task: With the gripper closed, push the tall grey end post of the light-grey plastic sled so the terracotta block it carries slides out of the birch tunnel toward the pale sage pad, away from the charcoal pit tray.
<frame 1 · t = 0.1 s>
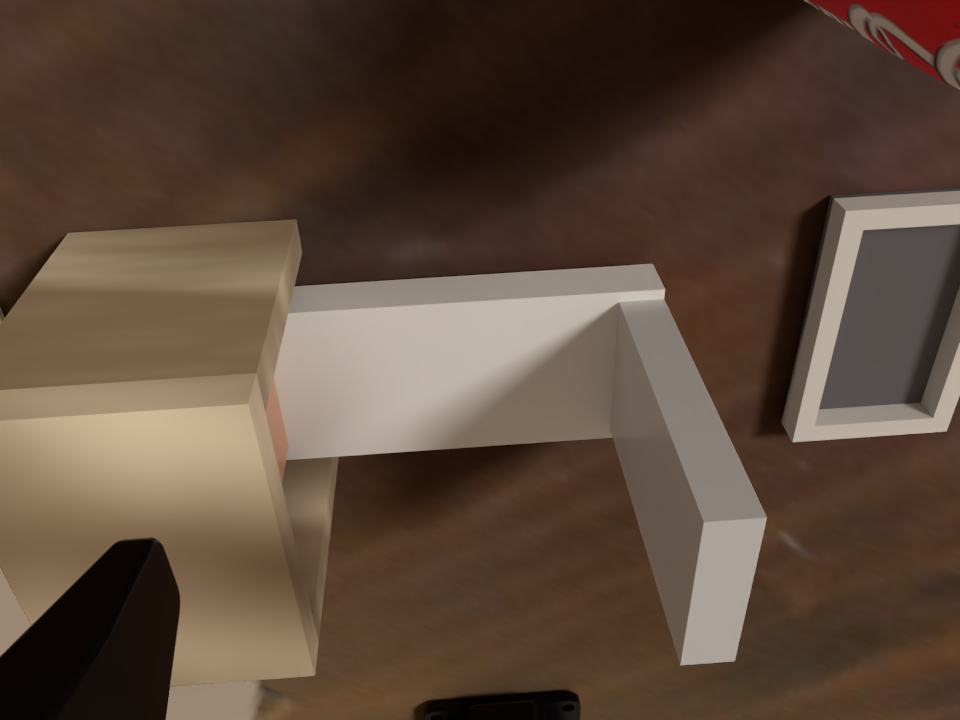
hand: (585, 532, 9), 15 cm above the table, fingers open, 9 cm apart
tunnel: (216, 357, 25), on the table
sled: (373, 465, 21), point 5 cm above the table, slide at 0.0 cm
pit tray: (885, 313, 26), on the table
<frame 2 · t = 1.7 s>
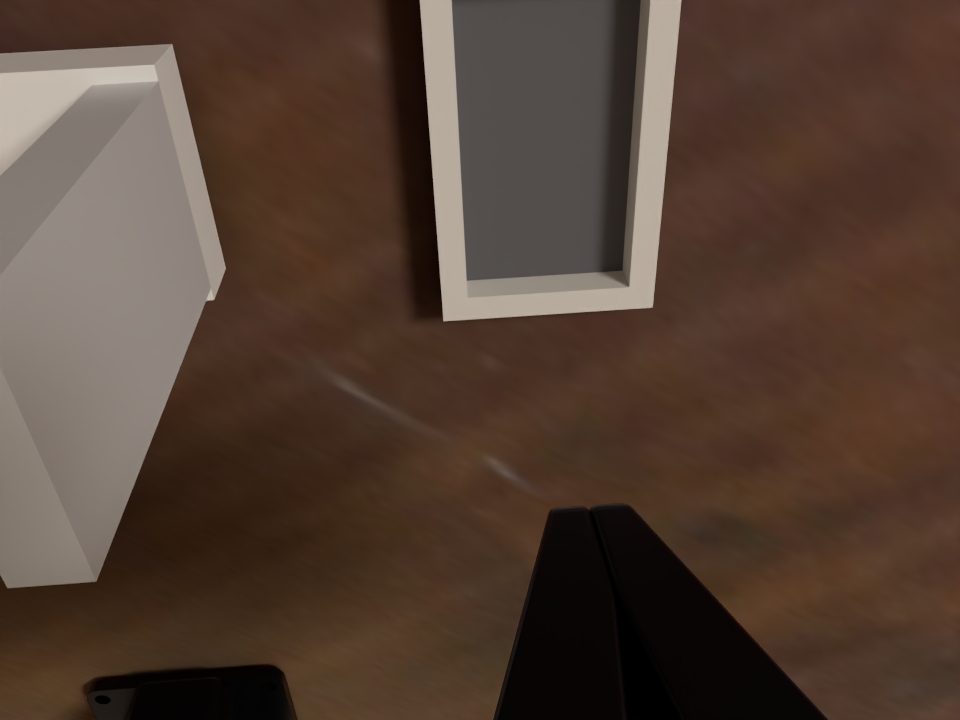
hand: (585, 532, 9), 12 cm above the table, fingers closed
pit tray: (544, 136, 19), on the table
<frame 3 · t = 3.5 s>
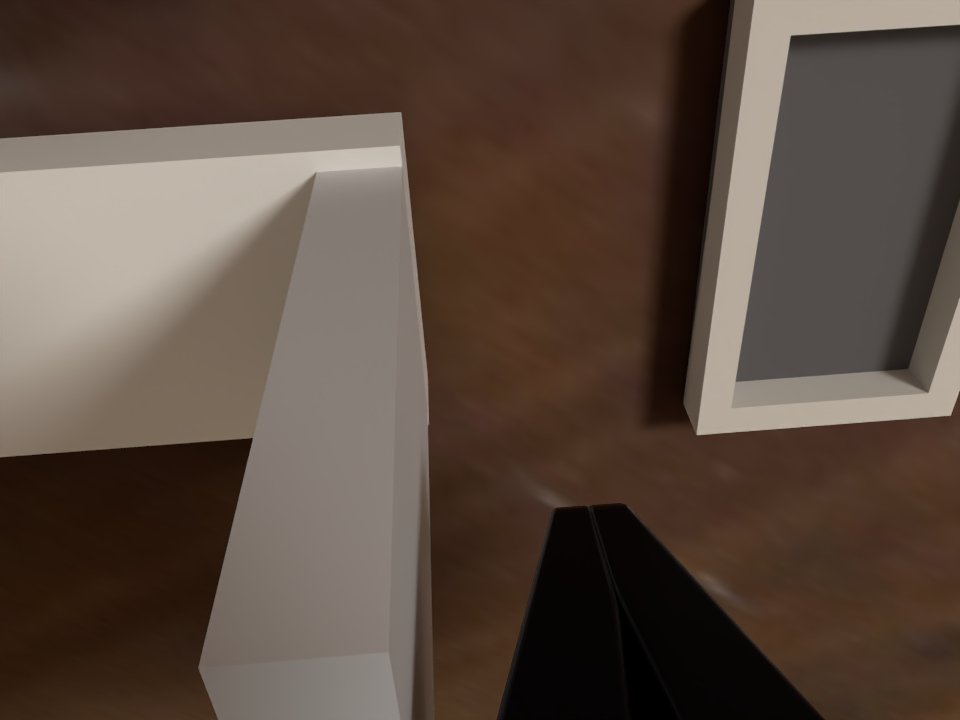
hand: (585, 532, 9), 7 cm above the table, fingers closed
pit tray: (844, 213, 15), on the table
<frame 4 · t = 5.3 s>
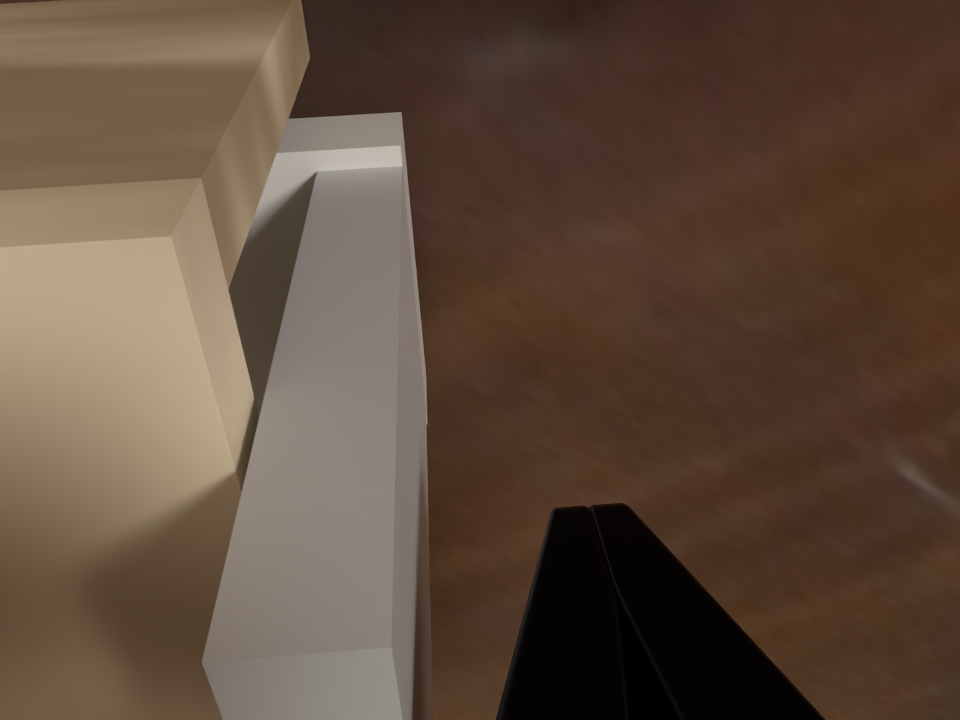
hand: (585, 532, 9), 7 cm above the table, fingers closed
tunnel: (164, 260, 15), on the table
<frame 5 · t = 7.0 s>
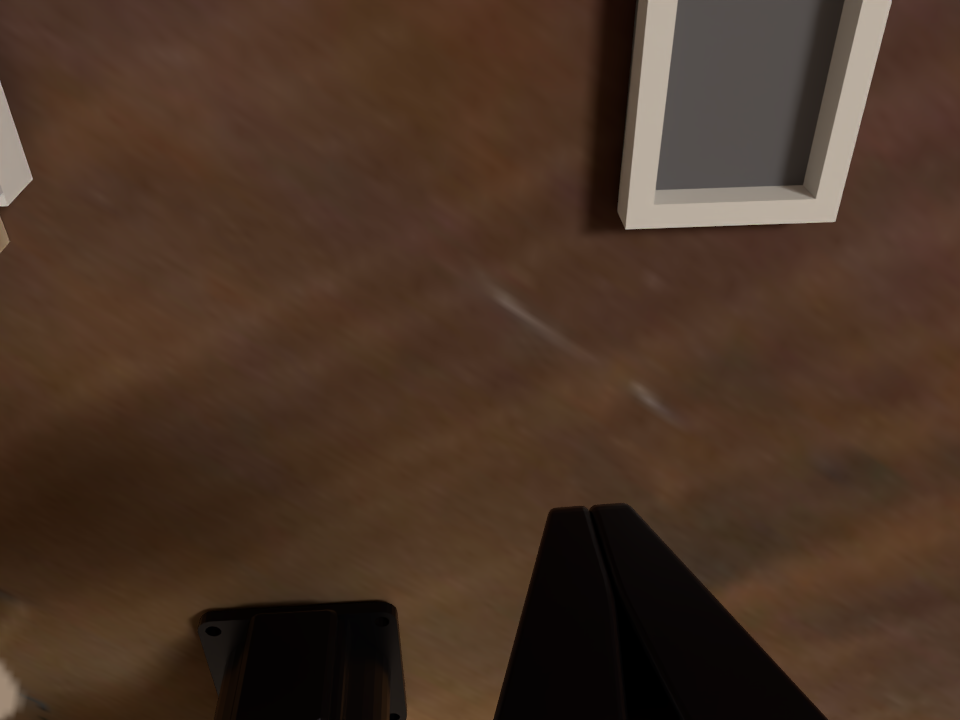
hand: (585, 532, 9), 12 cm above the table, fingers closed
pit tray: (746, 37, 18), on the table
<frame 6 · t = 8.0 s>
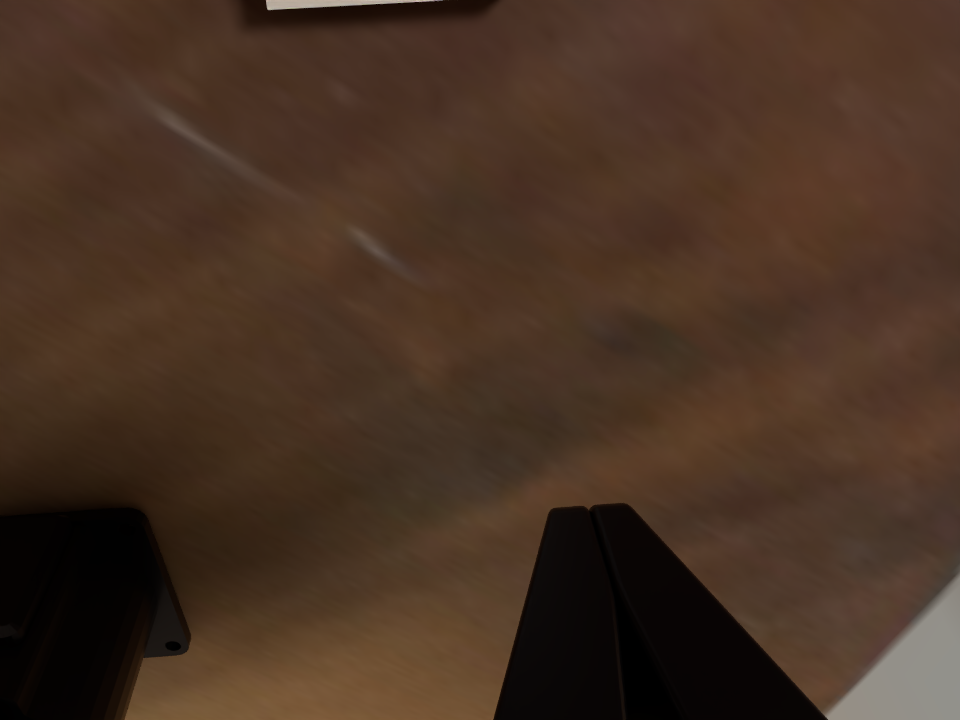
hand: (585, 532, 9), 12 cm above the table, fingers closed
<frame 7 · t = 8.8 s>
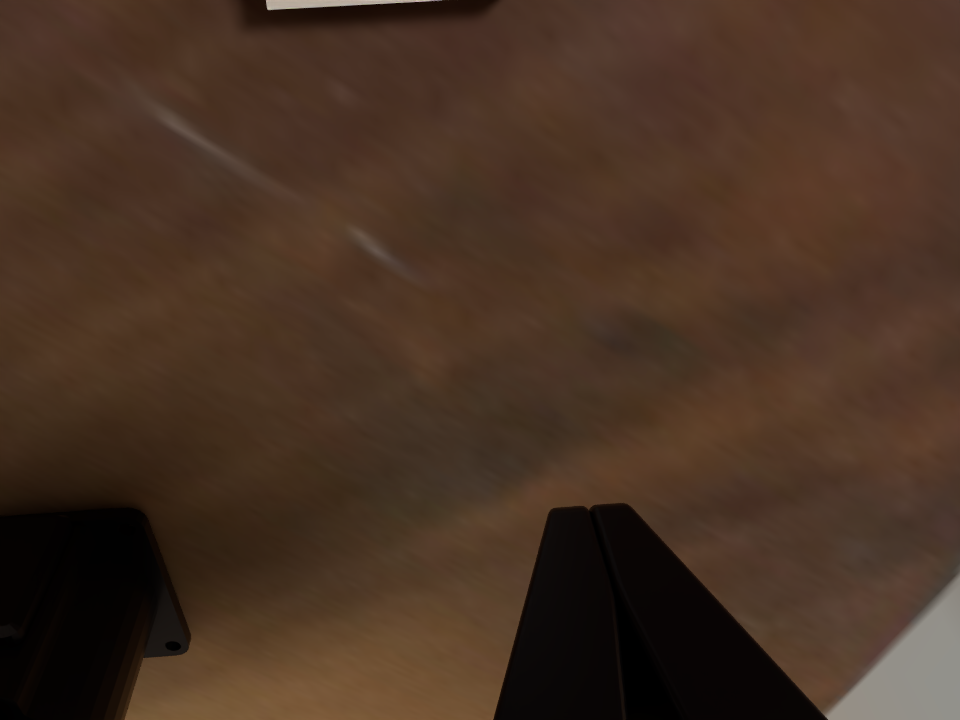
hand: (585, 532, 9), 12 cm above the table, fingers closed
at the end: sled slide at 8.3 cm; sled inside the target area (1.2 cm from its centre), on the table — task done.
